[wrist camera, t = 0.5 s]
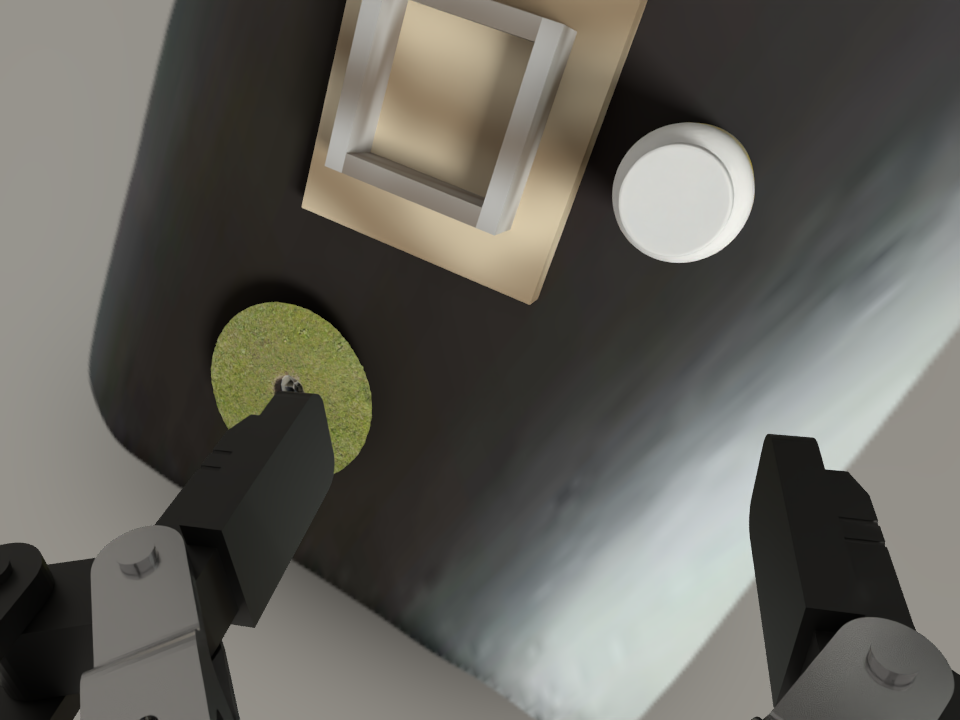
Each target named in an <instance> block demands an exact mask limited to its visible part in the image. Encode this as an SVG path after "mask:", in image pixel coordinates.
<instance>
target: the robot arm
mask: <svg viewBox="0 0 960 720" xmlns="http://www.w3.org/2000/svg"><path fill="white" fill-rule="evenodd" d="M334 466H335V460H334V452H333V447H332V442H331V437H330V432H329V427H328V422H327V417H326V413H325V408H324V403H323V400H322V398H321V396H320V395H319V394H314V393H303V392H291V391H279V392H277V393H276V394H275V395H274V396H273V398H272V399H271V400H270V402H269V403H268V404H267V406H266V407H265V408H264V410H263V411H262V413H261V414H260V415H252V414H250V415H249V416H248V417H246V418H245V419H243V420H242V421H240V422H239V423H237V424H236V425H235V426H233V427H232V428H230V429H229V430H228V431H227V432H226V433H225V434H224V436H223V437H222V438H221V440H220V441H219V442H218V443H217V445H216V446H215V447H214V449H213V453H210V454H209V455H208V456H207V458H206V459H205V460H204V462H203V463H202V464H201V469H197V471H196V472H195V473H194V475H193V476H192V477H191V478H190V480H189V481H188V482H187V484H186V485H185V486H184V488H183V489H182V490H181V491H180V493H179V494H178V495H177V497H176V498H175V499H174V500H173V502H172V503H171V504H170V506H169V507H168V508H167V510H166V511H165V512H164V514H163V515H162V516H161V517H160V519H159V520H158V521H157V522H156V524H155V525H153V526H145V527H140V528H137V529H134V530H131V531H129V532H126V533H124V534H122V535H121V536H119V537H117V538H116V539H114V540H112V541H111V542H110V543H109V544H107V545H106V546H105V547H104V548H103V549H102V550H101V551H100V553H99V554H98V555H97V557H96V558H92V559H85V560H78V561H71V562H64V563H56V564H49V565H47V564H46V562H45V560H44V558H43V556H42V555H41V553H40V551H39V550H38V549H37V548H36V547H34V546H33V545H30V544H26V543H9V544H4V545H0V720H73V719H74V717H75V716H76V714H77V712H78V711H79V709H80V715H81V720H240V717H239V713H238V708H237V703H236V699H235V694H234V689H233V684H232V680H231V675H230V671H229V666H228V661H227V656H226V652H225V648H224V645H223V642H222V638H223V637H224V635H225V633H226V631H227V630H228V628H229V626H230V625H231V624H234V625H240V626H246V627H253V628H255V626H256V624H257V623H258V621H259V619H260V617H261V615H262V613H263V611H264V610H265V608H266V606H267V604H268V602H269V600H270V598H271V596H272V594H273V593H274V591H275V589H276V587H277V585H278V583H279V581H280V580H281V578H282V576H283V574H284V572H285V570H286V568H287V566H288V564H289V563H290V561H291V559H292V557H293V555H294V553H295V551H296V550H297V548H298V546H299V544H300V542H301V540H302V538H303V536H304V535H305V533H306V531H307V529H308V527H309V525H310V523H311V521H312V520H313V518H314V516H315V514H316V512H317V510H318V508H319V507H320V505H321V503H322V501H323V499H324V497H325V495H326V493H327V492H328V490H329V488H330V485H331V482H332V479H333V474H334ZM749 532H750V541H751V548H752V555H753V563H754V570H755V577H756V584H757V591H758V598H759V606H760V612H761V620H762V627H763V634H764V640H765V648H766V655H767V662H768V670H769V677H770V684H771V691H772V699H773V706H774V709H773V710H772V711H771V713H770V714H769V715H768V716H767V717H765V718H764V719H763V720H960V675H959V674H957V673H956V672H954V671H953V670H951V668H950V666H949V664H948V662H947V660H946V659H945V657H944V656H943V655H942V653H941V652H940V651H939V650H938V649H937V648H936V646H935V645H934V644H933V643H931V642H930V641H929V640H928V639H927V638H925V637H924V636H923V635H921V634H920V633H918V632H917V631H916V629H915V627H914V625H913V622H912V619H911V616H910V614H909V610H908V607H907V604H906V601H905V599H904V596H903V593H902V590H901V587H900V584H899V581H898V578H897V575H896V572H895V569H894V566H893V564H892V560H891V557H890V555H889V552H888V549H887V547H885V540H884V537H883V534H882V531H881V528H880V526H878V519H877V516H876V514H875V511H874V508H873V505H872V502H871V499H870V496H869V495H868V493H867V492H866V491H865V490H864V489H863V488H862V487H861V486H860V484H859V483H858V482H857V481H856V480H855V479H854V478H853V477H852V476H851V475H850V473H849V472H846V471H835V470H825V468H824V464H823V461H822V457H821V454H820V450H819V446H818V443H817V441H816V439H815V438H810V437H799V436H787V435H775V434H767V435H766V437H765V440H764V443H763V448H762V452H761V457H760V461H759V466H758V471H757V475H756V480H755V484H754V489H753V494H752V498H751V504H750V515H749ZM751 720H762V719H761V718H760V717H754V718H753V719H751Z"/></svg>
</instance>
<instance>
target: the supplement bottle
mask: <svg viewBox="0 0 960 720" xmlns="http://www.w3.org/2000/svg"><path fill="white" fill-rule="evenodd" d="M754 191H755V187H754V175H753V168H752V164H751V161H750V158H749V156H748V153H747V151H746V149H745V148H744V146H743V145H742V144H741V143H740V142H739V141H738V140H737V139H736V138H735V137H734V136H733V135H732V134H730V133H729V132H727V131H725V130H723V129H722V128H719V127H717V126H713V125H710V124H704V123H693V122H684V123H676V124H671V125H667V126H664V127H661V128H658V129H656V130H654V131H652V132H650V133H648V134H647V135H645V136H644V137H642V138H641V139H640V140H639V141H637V142H636V143H635V144H634V145H633V146H632V147H631V148H630V150H629V151H628V152H627V153H626V155H625V156H624V158H623V159H622V161H621V163H620V165H619V167H618V169H617V172H616V175H615V178H614V183H613V190H612V201H613V209H614V213H615V217H616V220H617V222H618V225H619V227H620V229H621V231H622V232H623V234H624V235H625V237H626V238H627V239H628V240H629V242H630V243H631V244H632V245H634V246H635V247H636V248H637V249H638V250H640V251H641V252H643V253H644V254H646V255H648V256H650V257H652V258H655V259H658V260H661V261H666V262H673V263H686V262H692V261H697V260H701V259H704V258H707V257H709V256H711V255H713V254H715V253H717V252H718V251H720V250H722V249H723V248H724V247H725V246H727V245H728V244H729V243H730V242H731V241H732V240H733V239H734V238H735V237H736V236H737V235H738V233H739V232H740V231H741V229H742V228H743V226H744V224H745V223H746V221H747V219H748V216H749V214H750V211H751V208H752V205H753V200H754Z"/></svg>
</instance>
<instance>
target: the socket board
mask: <svg viewBox="0 0 960 720" xmlns="http://www.w3.org/2000/svg"><path fill="white" fill-rule="evenodd" d="M646 3H647V0H347V1H346V6H345V10H344V15H343V20H342V24H341V29H340V33H339V38H338V42H337V47H336V52H335V56H334V61H333V65H332V70H331V74H330V79H329V84H328V88H327V93H326V97H325V102H324V106H323V111H322V116H321V120H320V125H319V129H318V134H317V139H316V143H315V148H314V152H313V157H312V161H311V166H310V171H309V175H308V180H307V184H306V189H305V193H304V198H303V203H302V208H304V209H307V210H309V211H311V212H314V213H316V214H318V215H321V216H323V217H325V218H328V219H330V220H332V221H335V222H337V223H339V224H342V225H344V226H346V227H349V228H351V229H353V230H356V231H358V232H360V233H363V234H365V235H367V236H370V237H372V238H374V239H377V240H379V241H381V242H384V243H386V244H388V245H391V246H393V247H395V248H398V249H400V250H402V251H405V252H407V253H409V254H412V255H414V256H417V257H419V258H421V259H424V260H426V261H428V262H431V263H433V264H435V265H438V266H440V267H442V268H445V269H447V270H449V271H452V272H454V273H456V274H459V275H461V276H463V277H466V278H468V279H470V280H473V281H475V282H477V283H480V284H482V285H484V286H487V287H489V288H491V289H494V290H496V291H498V292H501V293H503V294H505V295H508V296H510V297H512V298H515V299H517V300H519V301H522V302H524V303H526V304H529V305H530V304H532V303H533V302H534V301H536V300H537V299H538V297H539V294H540V291H541V288H542V286H543V283H544V280H545V278H546V275H547V272H548V269H549V267H550V264H551V261H552V259H553V256H554V253H555V250H556V248H557V245H558V242H559V240H560V237H561V234H562V231H563V229H564V226H565V223H566V221H567V218H568V215H569V212H570V210H571V207H572V204H573V201H574V199H575V196H576V193H577V191H578V188H579V185H580V182H581V180H582V177H583V174H584V172H585V169H586V166H587V163H588V161H589V158H590V155H591V153H592V150H593V147H594V144H595V142H596V139H597V136H598V134H599V131H600V128H601V125H602V123H603V120H604V117H605V115H606V112H607V109H608V106H609V104H610V101H611V98H612V96H613V93H614V90H615V87H616V85H617V82H618V79H619V77H620V74H621V71H622V68H623V66H624V63H625V60H626V58H627V55H628V52H629V49H630V47H631V44H632V41H633V38H634V36H635V33H636V30H637V28H638V25H639V22H640V19H641V17H642V14H643V11H644V9H645V6H646Z"/></svg>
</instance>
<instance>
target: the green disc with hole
mask: <svg viewBox="0 0 960 720" xmlns="http://www.w3.org/2000/svg"><path fill="white" fill-rule="evenodd" d="M217 342H218V343H217V344H216V347H215V348H214V349H215V351H214V352H213V356H212V365H211V374H212V375H211V377H212V385H213V389H214V391H213V393H214V395H215V398H216V403H217V406H218V408H219V412H220V414H221V415H222V417H223V421H224V422H225V424H226V425H227V427H228V429H230V428H232V427H233V426H235V425H236V424H237V423H239V422H240V421H242V420H243V419H245V418H246V417H248V416H249V415H250V414H252V415H260V414H261V413H262V411H263V410H264V408H265V407H266V406H267V404H268V403H269V402H270V400H271V399H272V398H273V396H274V395H275V394H276V393H277V392H279V391H291V392H303V393H314V394H319V395H320V396H321V398H322V400H323V403H324V408H325V413H326V417H327V422H328V427H329V432H330V437H331V442H332V447H333V452H334V460H335V466H334V473H336V472H338V471H340V470H342V469H343V468H344V467H346V466H347V465H348V464H350V462H351V461H352V460H353V459H355V457H356V456H357V455H358V454H359V452H360V450H361V448H362V446H363V445H364V443H365V440H366V438H367V437H366V436H367V434H368V432H369V429H370V422H371V417H372V410H371V409H372V402H371V392H370V391H369V389H370V388H369V383H368V380H367V378H366V374H365V372H364V371H363V366H361V364H360V363H359V359H358V358H357V356H356V354H355V353H354V351H353V349H351V347H350V345H348V344H349V342H347V341H346V340H345V338H344V337H343V336H342V335H341V334H340V332H339V331H338V330H337V329H335V328H334V327H333V326H332V324H331V323H329V322H328V321H326V320H325V319H323V318H321V317H320V316H319V315H317V314H315V313H313V312H311V311H310V310H308V309H305V308H302V307H299V306H296V305H292V304H287V303H280V302H268V303H262V304H257V305H254V306H251V307H249V308H246V309H245V310H243V311H241V313H238V314H237V315H235V316H234V317H233V318H232V319H231V320H230V321H229V323H228V324H227V325H226V326H225V328H224V329H223V331H222V333H221V334H220V336H219V338H218V340H217Z"/></svg>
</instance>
